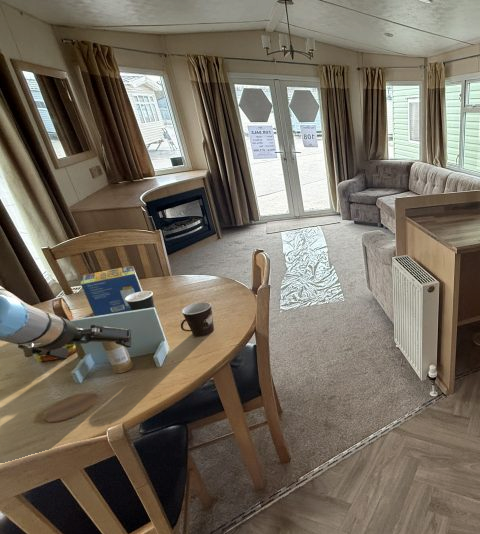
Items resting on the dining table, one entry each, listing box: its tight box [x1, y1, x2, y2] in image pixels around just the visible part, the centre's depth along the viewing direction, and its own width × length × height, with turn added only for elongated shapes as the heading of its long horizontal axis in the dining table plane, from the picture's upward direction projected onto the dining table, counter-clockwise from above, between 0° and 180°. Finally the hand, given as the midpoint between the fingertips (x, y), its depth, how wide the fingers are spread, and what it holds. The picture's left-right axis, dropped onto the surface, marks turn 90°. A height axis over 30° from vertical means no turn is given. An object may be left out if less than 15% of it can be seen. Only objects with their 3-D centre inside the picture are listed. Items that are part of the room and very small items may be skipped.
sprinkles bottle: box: [101, 342, 134, 374], centre depth 101 cm, size 5×5×13 cm
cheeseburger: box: [34, 344, 77, 363], centre depth 109 cm, size 10×11×10 cm
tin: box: [51, 296, 74, 321], centre depth 125 cm, size 15×3×8 cm, turn 46°
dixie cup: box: [125, 290, 155, 311], centre depth 126 cm, size 8×8×11 cm
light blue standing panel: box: [70, 306, 170, 385], centre depth 102 cm, size 20×10×16 cm, turn 114°
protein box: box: [80, 265, 143, 316], centre depth 133 cm, size 10×15×16 cm
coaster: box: [43, 391, 99, 423], centre depth 90 cm, size 10×10×1 cm
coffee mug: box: [180, 301, 215, 338], centre depth 119 cm, size 12×9×10 cm
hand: (98, 348), depth 93 cm, fingers open, 13 cm apart
